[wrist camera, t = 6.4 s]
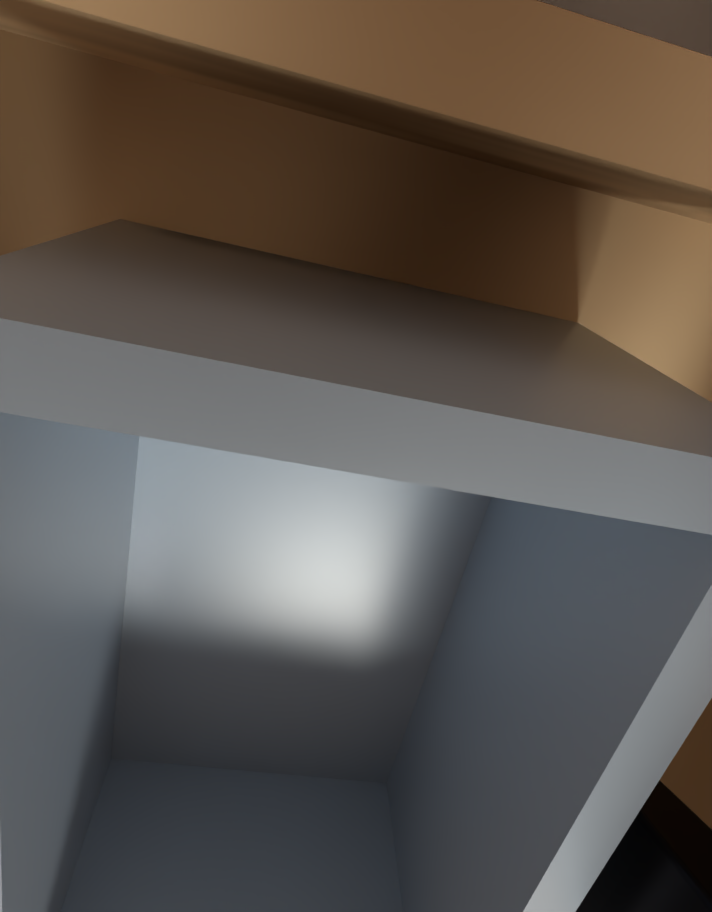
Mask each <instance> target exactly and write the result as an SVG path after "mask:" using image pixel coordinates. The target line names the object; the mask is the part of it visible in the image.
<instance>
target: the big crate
mask: <svg viewBox="0 0 712 912" xmlns="http://www.w3.org/2000/svg"><path fill="white" fill-rule="evenodd" d="M118 219H122V220H127V221H131V222H136V223H140V224H145V225H149V226H153V227H158V228H162V229H167V230H171V231H175V232H180V233H184V234H189V235H193V236H198V237H202V238H206V239H211V240H215V241H220V242H224V243H228V244H233V245H237V246H242V247H246V248H250V249H255V250H259V251H264V252H268V253H273V254H277V255H281V256H286V257H290V258H295V259H299V260H303V261H308V262H312V263H317V264H321V265H326V266H330V267H334V268H339V269H343V270H348V271H352V272H356V273H361V274H365V275H370V276H374V277H378V278H383V279H387V280H392V281H396V282H401V283H405V284H409V285H414V286H418V287H423V288H427V289H431V290H436V291H440V292H445V293H449V294H454V295H458V296H462V297H467V298H471V299H476V300H480V301H484V302H489V303H493V304H498V305H502V306H507V307H511V308H515V309H520V310H524V311H529V312H533V313H537V314H542V315H546V316H551V317H555V318H559V319H564V320H568V321H573V322H577V323H579V324H581V325H583V326H584V327H586V328H588V329H589V330H591V331H593V332H594V333H596V334H598V335H599V336H601V337H603V338H604V339H606V340H608V341H609V342H611V343H613V344H614V345H616V346H618V347H619V348H621V349H623V350H625V351H626V352H628V353H630V354H631V355H633V356H635V357H636V358H638V359H640V360H641V361H643V362H645V363H646V364H648V365H650V366H651V367H653V368H655V369H656V370H658V371H660V372H661V373H663V374H665V375H666V376H668V377H670V378H671V379H673V380H675V381H677V382H678V383H680V384H682V385H683V386H685V387H687V388H688V389H690V390H692V391H693V392H695V393H697V394H698V395H700V396H702V397H703V398H705V399H707V400H708V401H710V402H712V57H711V56H708V55H704V54H701V53H698V52H695V51H692V50H689V49H686V48H683V47H680V46H677V45H674V44H671V43H667V42H664V41H661V40H658V39H655V38H652V37H649V36H646V35H643V34H640V33H637V32H634V31H630V30H627V29H624V28H621V27H618V26H615V25H612V24H609V23H606V22H603V21H600V20H596V19H593V18H590V17H587V16H584V15H581V14H578V13H575V12H572V11H569V10H566V9H563V8H559V7H556V6H553V5H550V4H547V3H544V2H541V1H538V0H0V256H1V255H4V254H8V253H11V252H14V251H17V250H21V249H24V248H27V247H30V246H34V245H37V244H40V243H43V242H47V241H50V240H53V239H56V238H60V237H63V236H66V235H69V234H73V233H76V232H79V231H82V230H86V229H89V228H92V227H95V226H99V225H102V224H105V223H108V222H112V221H115V220H118ZM660 781H661V782H662V783H663V784H664V785H665V786H666V787H668V788H669V789H670V790H671V791H672V792H673V793H674V794H675V795H676V796H677V797H678V798H679V799H680V800H681V801H682V802H683V803H684V804H686V805H687V806H688V807H689V808H690V809H691V810H692V811H693V812H694V813H695V814H696V815H697V816H698V817H699V818H700V819H701V820H702V821H704V822H705V823H706V824H707V825H708V826H709V827H710V828H711V829H712V698H711V700H710V701H709V703H708V704H707V706H706V708H705V709H704V711H703V712H702V714H701V715H700V717H699V719H698V720H697V722H696V723H695V725H694V726H693V728H692V730H691V731H690V733H689V734H688V736H687V737H686V739H685V741H684V742H683V744H682V745H681V747H680V748H679V750H678V752H677V753H676V755H675V756H674V758H673V759H672V761H671V763H670V764H669V766H668V767H667V769H666V770H665V772H664V774H663V775H662V777H661V778H660Z"/></svg>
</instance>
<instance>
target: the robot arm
mask: <svg viewBox="0 0 712 912" xmlns="http://www.w3.org/2000/svg"><path fill="white" fill-rule="evenodd" d="M576 912H712V829H711V828H710V827H709V826H708V825H707V824H706V823H705V822H704V821H702V820H701V819H700V818H699V817H698V816H697V815H696V814H695V813H694V812H693V811H692V810H691V809H690V808H689V807H688V806H687V805H686V804H684V803H683V802H682V801H681V800H680V799H679V798H678V797H677V796H676V795H675V794H674V793H673V792H672V791H671V790H670V789H669V788H668V787H666V786H665V785H664V784H663V783H662V782H661V781H660V780H659V781H658V783H657V785H656V786H655V788H654V789H653V791H652V792H651V794H650V796H649V797H648V799H647V800H646V802H645V803H644V805H643V807H642V808H641V810H640V811H639V813H638V814H637V816H636V818H635V819H634V821H633V822H632V824H631V825H630V827H629V829H628V830H627V832H626V833H625V835H624V836H623V838H622V840H621V841H620V843H619V844H618V846H617V847H616V849H615V851H614V852H613V854H612V855H611V857H610V858H609V860H608V861H607V863H606V865H605V866H604V868H603V869H602V871H601V872H600V874H599V876H598V877H597V879H596V880H595V882H594V883H593V885H592V887H591V888H590V890H589V891H588V893H587V894H586V896H585V898H584V899H583V901H582V902H581V904H580V905H579V907H578V909H577V910H576Z"/></svg>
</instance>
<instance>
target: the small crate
mask: <svg viewBox="0 0 712 912" xmlns="http://www.w3.org/2000/svg"><path fill="white" fill-rule="evenodd" d="M711 698H712V402H710V401H708V400H707V399H705V398H703V397H702V396H700V395H698V394H697V393H695V392H693V391H692V390H690V389H688V388H687V387H685V386H683V385H682V384H680V383H678V382H677V381H675V380H673V379H671V378H670V377H668V376H666V375H665V374H663V373H661V372H660V371H658V370H656V369H655V368H653V367H651V366H650V365H648V364H646V363H645V362H643V361H641V360H640V359H638V358H636V357H635V356H633V355H631V354H630V353H628V352H626V351H625V350H623V349H621V348H619V347H618V346H616V345H614V344H613V343H611V342H609V341H608V340H606V339H604V338H603V337H601V336H599V335H598V334H596V333H594V332H593V331H591V330H589V329H588V328H586V327H584V326H583V325H581V324H579V323H577V322H573V321H568V320H564V319H559V318H555V317H551V316H546V315H542V314H537V313H533V312H529V311H524V310H520V309H515V308H511V307H507V306H502V305H498V304H493V303H489V302H484V301H480V300H476V299H471V298H467V297H462V296H458V295H454V294H449V293H445V292H440V291H436V290H431V289H427V288H423V287H418V286H414V285H409V284H405V283H401V282H396V281H392V280H387V279H383V278H378V277H374V276H370V275H365V274H361V273H356V272H352V271H348V270H343V269H339V268H334V267H330V266H326V265H321V264H317V263H312V262H308V261H303V260H299V259H295V258H290V257H286V256H281V255H277V254H273V253H268V252H264V251H259V250H255V249H250V248H246V247H242V246H237V245H233V244H228V243H224V242H220V241H215V240H211V239H206V238H202V237H198V236H193V235H189V234H184V233H180V232H175V231H171V230H167V229H162V228H158V227H153V226H149V225H145V224H140V223H136V222H131V221H127V220H122V219H118V220H115V221H112V222H108V223H105V224H102V225H99V226H95V227H92V228H89V229H86V230H82V231H79V232H76V233H73V234H69V235H66V236H63V237H60V238H56V239H53V240H50V241H47V242H43V243H40V244H37V245H34V246H30V247H27V248H24V249H21V250H17V251H14V252H11V253H8V254H4V255H1V256H0V912H576V910H577V909H578V907H579V905H580V904H581V902H582V901H583V899H584V898H585V896H586V894H587V893H588V891H589V890H590V888H591V887H592V885H593V883H594V882H595V880H596V879H597V877H598V876H599V874H600V872H601V871H602V869H603V868H604V866H605V865H606V863H607V861H608V860H609V858H610V857H611V855H612V854H613V852H614V851H615V849H616V847H617V846H618V844H619V843H620V841H621V840H622V838H623V836H624V835H625V833H626V832H627V830H628V829H629V827H630V825H631V824H632V822H633V821H634V819H635V818H636V816H637V814H638V813H639V811H640V810H641V808H642V807H643V805H644V803H645V802H646V800H647V799H648V797H649V796H650V794H651V792H652V791H653V789H654V788H655V786H656V785H657V783H658V781H659V780H660V778H661V777H662V775H663V774H664V772H665V770H666V769H667V767H668V766H669V764H670V763H671V761H672V759H673V758H674V756H675V755H676V753H677V752H678V750H679V748H680V747H681V745H682V744H683V742H684V741H685V739H686V737H687V736H688V734H689V733H690V731H691V730H692V728H693V726H694V725H695V723H696V722H697V720H698V719H699V717H700V715H701V714H702V712H703V711H704V709H705V708H706V706H707V704H708V703H709V701H710V700H711Z"/></svg>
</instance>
